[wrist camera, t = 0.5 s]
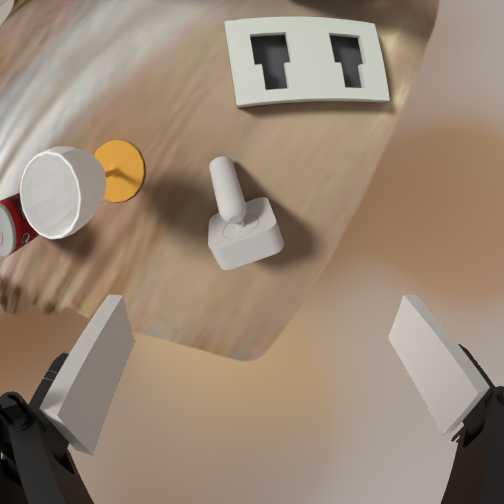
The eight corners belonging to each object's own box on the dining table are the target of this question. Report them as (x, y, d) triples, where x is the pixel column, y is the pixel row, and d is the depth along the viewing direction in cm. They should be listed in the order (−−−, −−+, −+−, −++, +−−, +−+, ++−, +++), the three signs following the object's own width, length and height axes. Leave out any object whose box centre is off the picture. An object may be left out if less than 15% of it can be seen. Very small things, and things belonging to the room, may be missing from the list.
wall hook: (246, 143, 33) (257, 168, 25) (271, 209, 39) (286, 250, 31) (188, 167, 34) (179, 199, 26) (218, 228, 40) (220, 273, 32)
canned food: (28, 230, 36) (-10, 254, 26) (24, 186, 33) (-19, 203, 23) (57, 233, 37) (18, 260, 27) (53, 186, 34) (9, 204, 23)
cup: (152, 191, 35) (98, 228, 20) (100, 209, 36) (35, 252, 21) (135, 130, 32) (69, 130, 17) (83, 153, 32) (9, 170, 17)
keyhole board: (225, 29, 27) (224, 21, 24) (365, 29, 26) (374, 23, 23) (237, 108, 31) (236, 105, 29) (379, 102, 31) (389, 100, 28)
